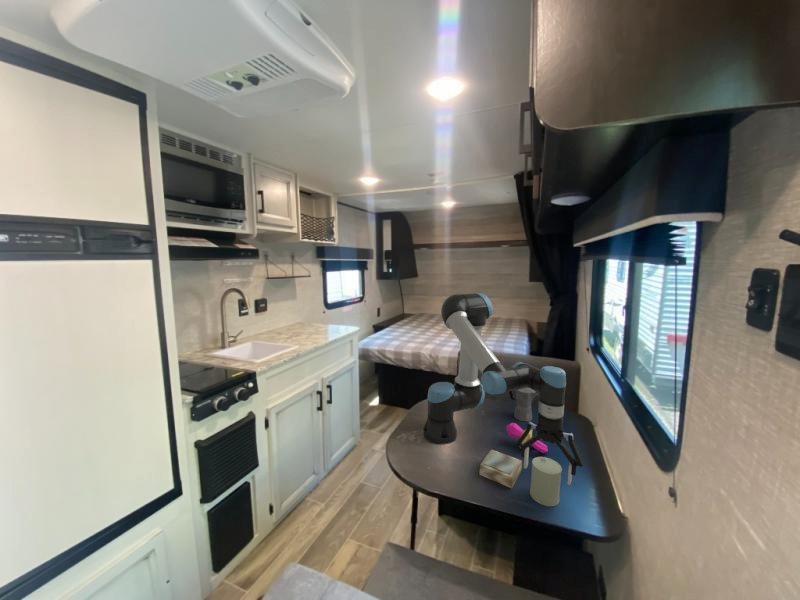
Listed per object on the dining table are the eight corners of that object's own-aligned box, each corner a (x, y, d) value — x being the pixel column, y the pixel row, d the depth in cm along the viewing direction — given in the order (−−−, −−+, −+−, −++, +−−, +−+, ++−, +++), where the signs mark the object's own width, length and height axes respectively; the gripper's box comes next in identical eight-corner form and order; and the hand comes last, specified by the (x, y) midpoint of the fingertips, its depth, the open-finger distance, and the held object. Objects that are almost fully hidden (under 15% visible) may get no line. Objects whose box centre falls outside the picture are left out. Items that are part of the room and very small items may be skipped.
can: (552, 486, 113) (554, 455, 112) (564, 507, 104) (567, 473, 102) (525, 486, 113) (527, 454, 112) (535, 506, 104) (538, 472, 103)
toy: (541, 464, 127) (552, 440, 127) (499, 437, 136) (510, 415, 137) (542, 460, 135) (553, 438, 136) (503, 435, 145) (513, 414, 145)
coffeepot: (539, 418, 161) (542, 384, 159) (531, 425, 155) (534, 390, 152) (510, 408, 172) (512, 376, 170) (502, 414, 165) (504, 381, 163)
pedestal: (479, 474, 119) (479, 464, 119) (490, 458, 129) (491, 448, 128) (511, 488, 112) (512, 477, 112) (521, 470, 122) (522, 459, 121)
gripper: (508, 408, 109) (506, 466, 112) (593, 431, 94) (588, 496, 97) (515, 400, 115) (512, 455, 118) (596, 420, 101) (591, 483, 103)
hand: (546, 474), depth 107 cm, fingers open, 13 cm apart
